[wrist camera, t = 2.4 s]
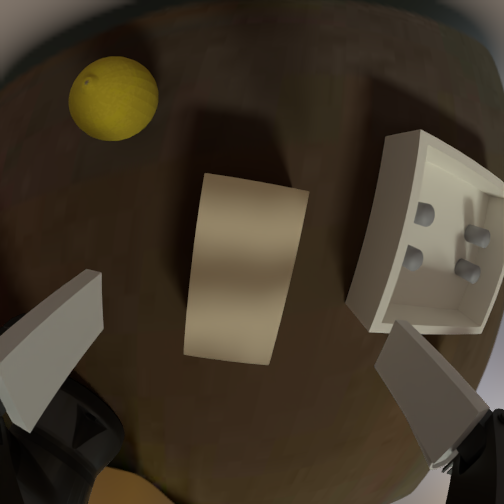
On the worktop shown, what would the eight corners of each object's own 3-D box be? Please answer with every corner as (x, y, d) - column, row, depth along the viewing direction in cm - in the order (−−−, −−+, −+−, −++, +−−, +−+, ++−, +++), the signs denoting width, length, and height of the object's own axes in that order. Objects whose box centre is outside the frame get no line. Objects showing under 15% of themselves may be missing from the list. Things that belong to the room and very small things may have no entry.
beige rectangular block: (262, 329, 23) (268, 364, 18) (192, 319, 22) (183, 354, 18) (291, 188, 20) (309, 191, 15) (211, 174, 19) (204, 172, 15)
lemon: (140, 159, 19) (89, 151, 11) (92, 125, 17) (32, 109, 10) (184, 99, 18) (156, 58, 10) (133, 69, 16) (89, 27, 9)
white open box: (344, 302, 23) (368, 332, 18) (385, 136, 19) (420, 129, 14) (454, 313, 24) (481, 333, 19) (489, 190, 21) (521, 196, 16)
